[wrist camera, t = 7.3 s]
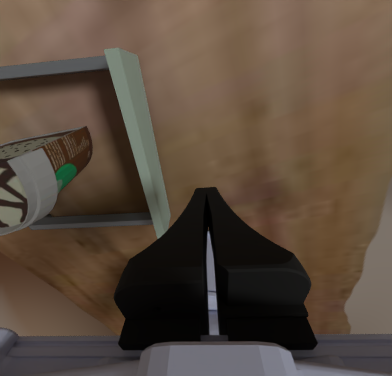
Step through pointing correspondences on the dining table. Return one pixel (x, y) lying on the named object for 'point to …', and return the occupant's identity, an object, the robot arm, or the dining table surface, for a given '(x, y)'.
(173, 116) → the dining table surface
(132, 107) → the grey u-shaped frame
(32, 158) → the food container
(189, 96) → the dining table surface
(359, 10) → the dining table surface
